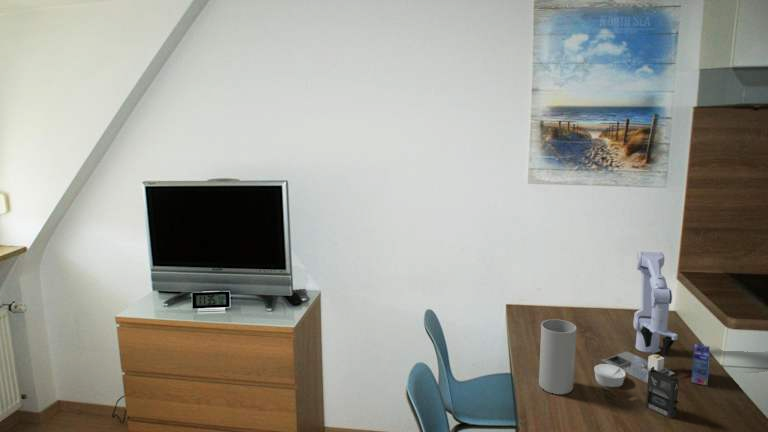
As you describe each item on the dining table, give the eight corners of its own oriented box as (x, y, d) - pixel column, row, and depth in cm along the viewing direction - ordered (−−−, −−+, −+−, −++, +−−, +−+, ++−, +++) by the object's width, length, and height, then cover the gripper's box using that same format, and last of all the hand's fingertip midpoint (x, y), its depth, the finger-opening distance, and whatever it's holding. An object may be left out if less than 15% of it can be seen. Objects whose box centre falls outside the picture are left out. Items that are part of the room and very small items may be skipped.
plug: (653, 367, 209) (655, 352, 207) (663, 371, 205) (664, 356, 204) (647, 370, 207) (648, 354, 206) (656, 374, 203) (658, 358, 202)
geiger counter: (680, 415, 178) (684, 375, 175) (673, 420, 175) (677, 380, 172) (650, 402, 186) (653, 364, 183) (643, 406, 184) (646, 367, 181)
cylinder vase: (570, 379, 203) (573, 320, 198) (575, 396, 191) (578, 334, 186) (537, 377, 205) (539, 318, 200) (540, 393, 193) (542, 331, 188)
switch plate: (626, 353, 223) (627, 349, 223) (674, 375, 204) (675, 370, 204) (601, 362, 216) (601, 357, 216) (648, 385, 197) (648, 381, 197)
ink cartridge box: (691, 371, 207) (695, 337, 204) (707, 374, 204) (711, 340, 201) (690, 382, 199) (694, 347, 196) (707, 386, 196) (711, 350, 193)
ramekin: (628, 391, 194) (629, 378, 192) (596, 389, 196) (597, 376, 195) (620, 376, 204) (621, 364, 203) (590, 374, 206) (591, 362, 205)
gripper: (636, 313, 206) (633, 345, 209) (670, 326, 194) (667, 359, 196) (647, 310, 210) (645, 341, 212) (682, 322, 197) (678, 355, 200)
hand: (656, 350), depth 205 cm, fingers open, 7 cm apart
